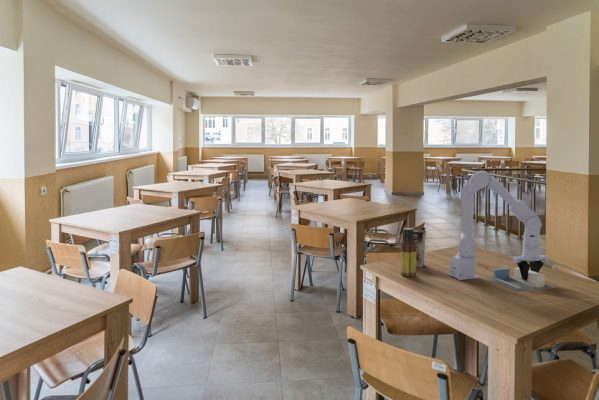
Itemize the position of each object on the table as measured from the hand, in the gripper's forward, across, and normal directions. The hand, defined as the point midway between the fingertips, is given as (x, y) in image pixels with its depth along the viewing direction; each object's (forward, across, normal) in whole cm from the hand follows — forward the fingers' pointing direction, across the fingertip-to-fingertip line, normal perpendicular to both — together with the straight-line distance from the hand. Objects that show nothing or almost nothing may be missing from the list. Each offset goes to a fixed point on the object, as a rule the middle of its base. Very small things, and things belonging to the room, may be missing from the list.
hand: (528, 279), depth 178 cm
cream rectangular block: (+1, 0, 0) cm, 1 cm away
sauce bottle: (+2, -40, +22) cm, 46 cm away
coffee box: (+2, -30, +36) cm, 48 cm away
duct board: (+2, -3, 0) cm, 4 cm away
